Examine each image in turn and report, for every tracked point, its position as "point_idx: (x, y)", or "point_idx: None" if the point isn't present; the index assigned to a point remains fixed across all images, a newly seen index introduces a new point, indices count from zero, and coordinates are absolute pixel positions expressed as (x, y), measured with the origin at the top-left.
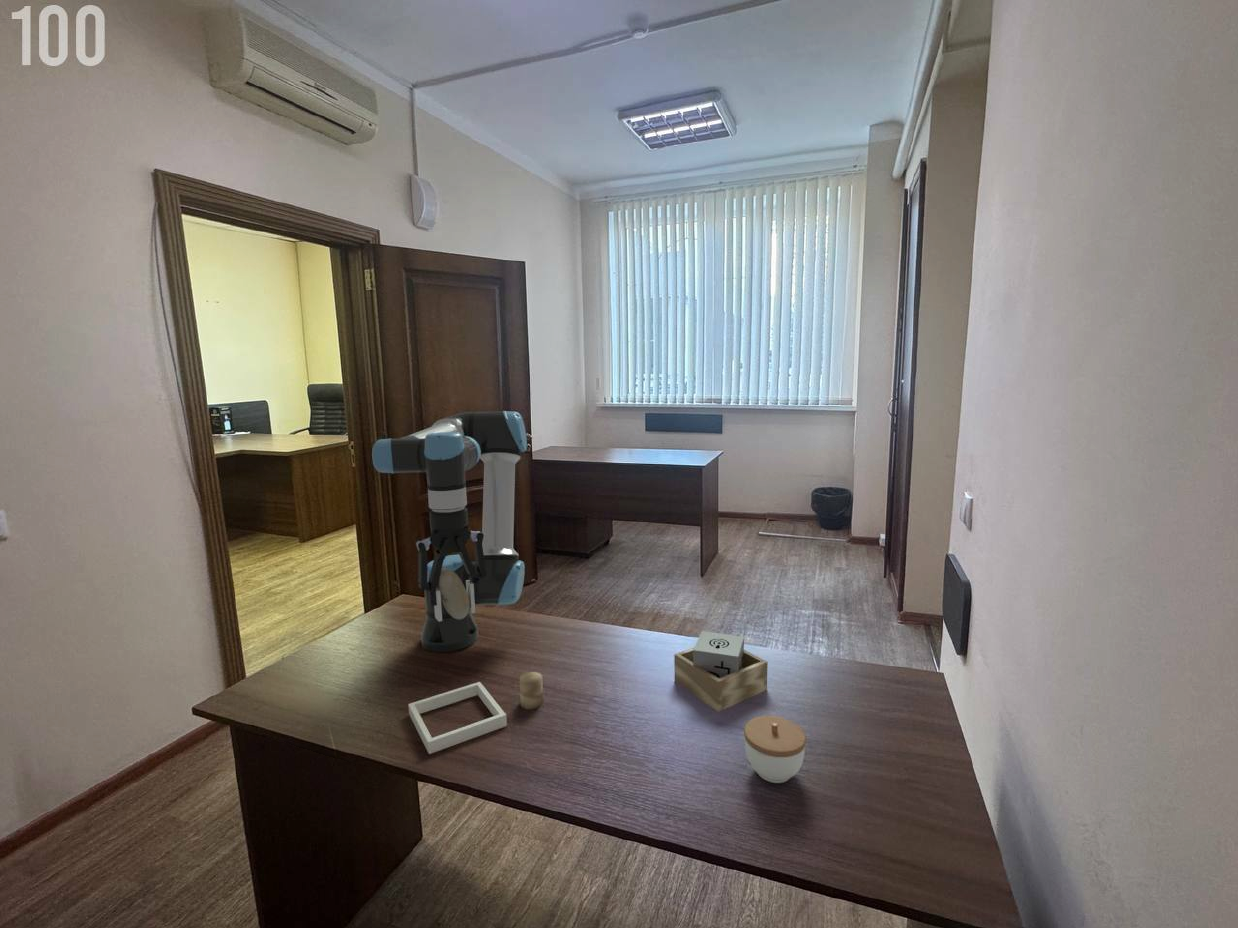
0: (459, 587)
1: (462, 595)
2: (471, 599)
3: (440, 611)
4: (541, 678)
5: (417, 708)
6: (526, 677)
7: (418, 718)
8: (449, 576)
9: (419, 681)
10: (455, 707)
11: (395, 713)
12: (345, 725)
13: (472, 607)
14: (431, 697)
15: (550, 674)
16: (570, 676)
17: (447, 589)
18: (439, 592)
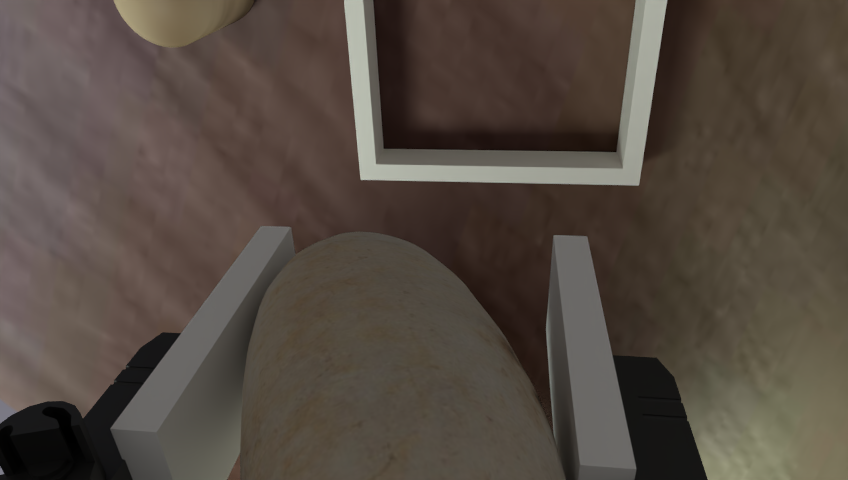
0: (310, 390)
1: (311, 310)
2: (236, 299)
3: (571, 287)
4: None
5: (609, 160)
6: (179, 7)
7: (648, 63)
8: None
9: (529, 335)
10: (478, 117)
11: (667, 202)
12: (831, 228)
13: (263, 254)
14: (551, 179)
15: (110, 125)
16: (40, 68)
17: (495, 418)
18: (590, 445)
